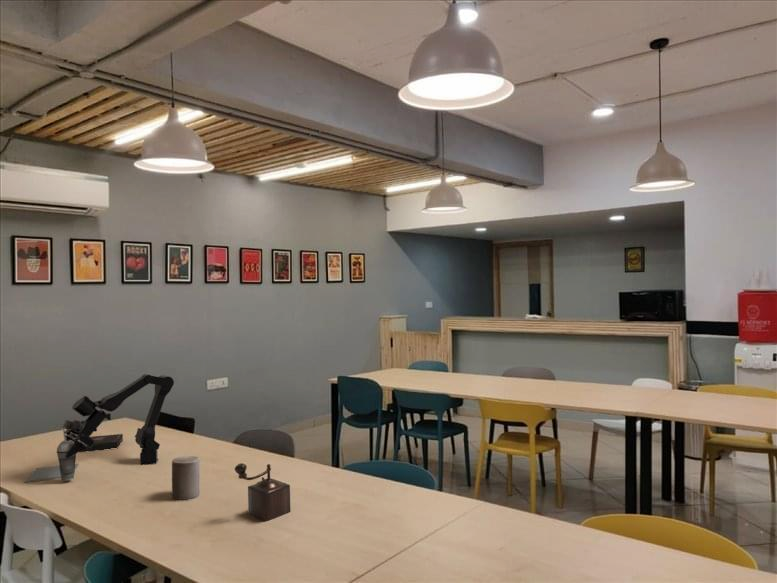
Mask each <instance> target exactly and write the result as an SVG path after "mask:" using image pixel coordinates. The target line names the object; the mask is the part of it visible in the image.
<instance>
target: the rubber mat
mask: <svg viewBox="0 0 777 583" xmlns="http://www.w3.org/2000/svg"><path fill="white" fill-rule="evenodd" d="M78 466H79V463H75V470H76V469H77V468H78ZM58 479H61V476H60V468H59V465H54V466H53V465H51V466H44V467H37V468H36V469H35V470H33V472H32V473H30V475H29V476H28V477H27V478H25V480H24V483H31V482H40V481H41V482H42V481H50V480H58Z"/></svg>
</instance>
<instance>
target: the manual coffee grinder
mask: <svg viewBox="0 0 777 583" xmlns="http://www.w3.org/2000/svg"><path fill="white" fill-rule="evenodd" d="M271 466H272V465H271V464H269V463H268V464H266V470H265V471H263V472H261V473H259V474H257V475H255V476H251V477H249V476H248V474H247V472H246V470H247V468H248V467H247V464H245V463H238V464H236V466H235V467H234V472H235V473H236V474H238V479H241V480H242V479H243V480H246V481H252V480H257V479H259V478H261V481H258V482H256V483H255V484H252V485H251V484H250V485H248V486H247V502H248V504H247V505H248V508H247V509H248V510H247V511H248V512H247V514H248V515H250V516H251V517H253V518H255V519H257V520H260V521H263V522H268V521H271V520H275V519H277V518H279V517H282V516H284V515H286V514H288V513H291V485H290V484H288V483H286V482H282V481H280V480H277V479H275V478H271V471H272V467H271ZM266 474H267V477H266V478H265V477H263V476H265V475H266ZM247 476H248V477H247Z"/></svg>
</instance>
